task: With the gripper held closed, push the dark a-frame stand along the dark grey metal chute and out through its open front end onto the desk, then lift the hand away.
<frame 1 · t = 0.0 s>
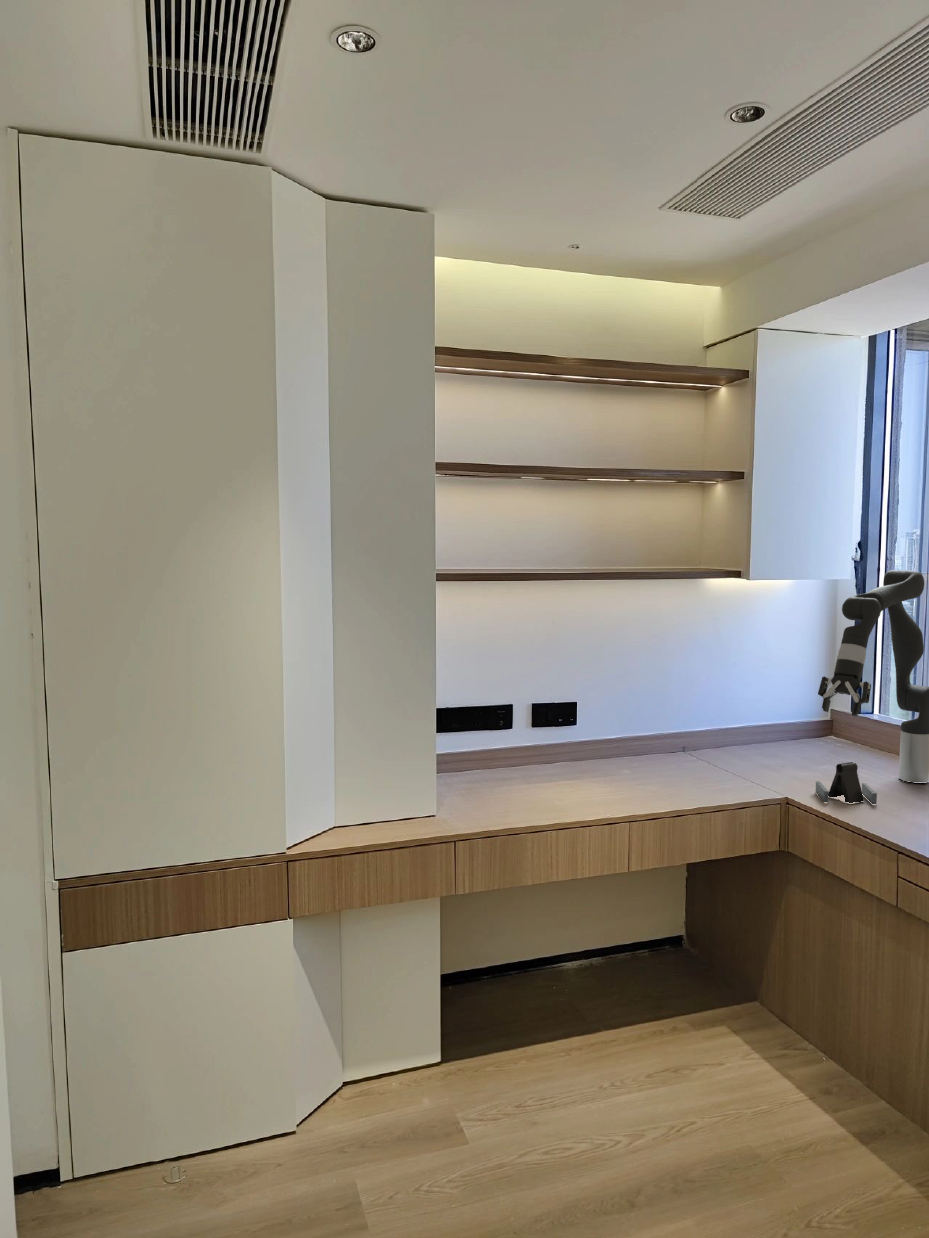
hand: (839, 713, 244), 31 cm above the table, tool tilted 20°, fingers open, 8 cm apart
chute: (845, 799, 263), on the table
dark a-frame stand: (845, 800, 263), on the table
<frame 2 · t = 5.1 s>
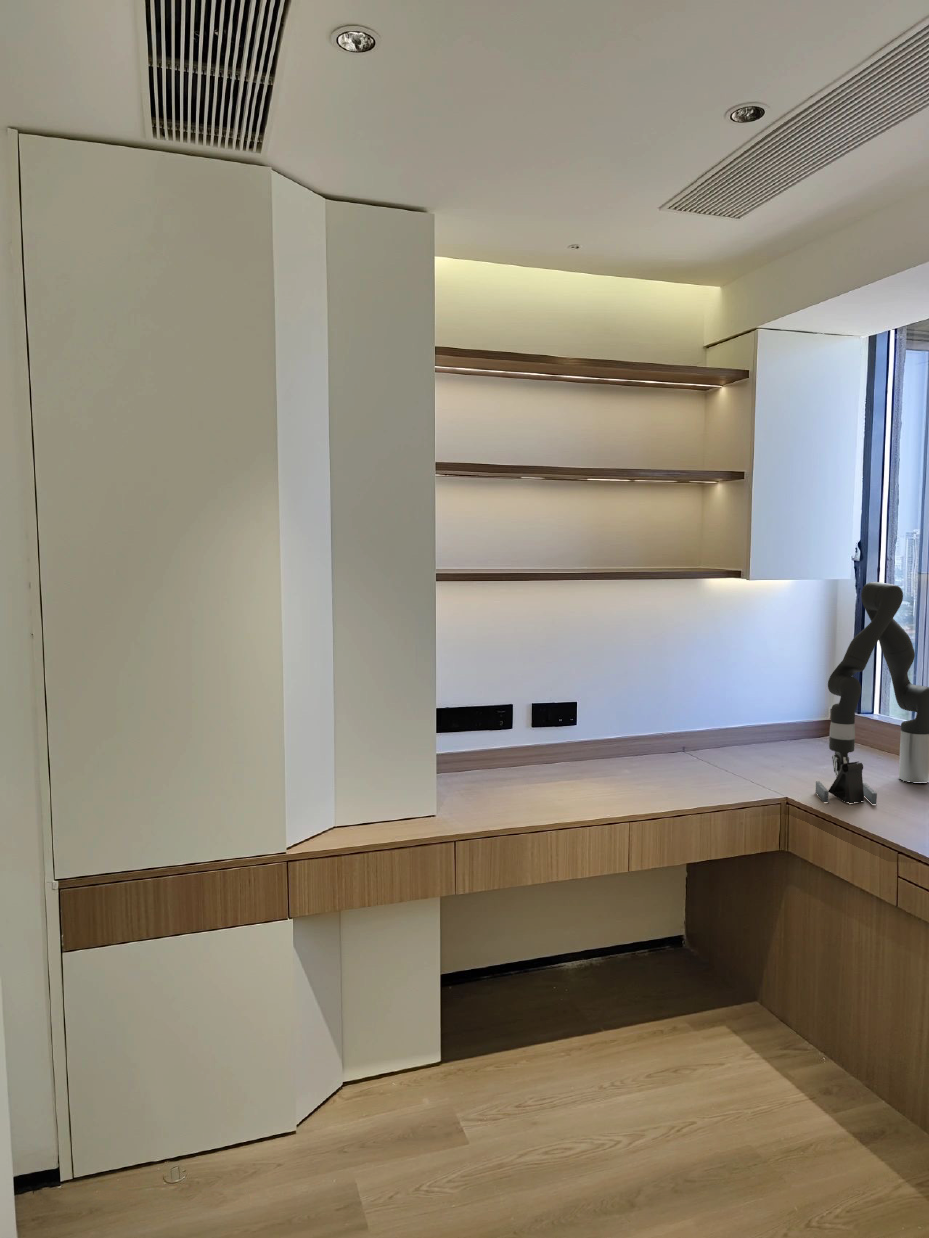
hand: (840, 787, 269), 2 cm above the table, tool pointing down, fingers closed
dark a-frame stand: (845, 797, 263), point 1 cm above the table, touching gripper, hand
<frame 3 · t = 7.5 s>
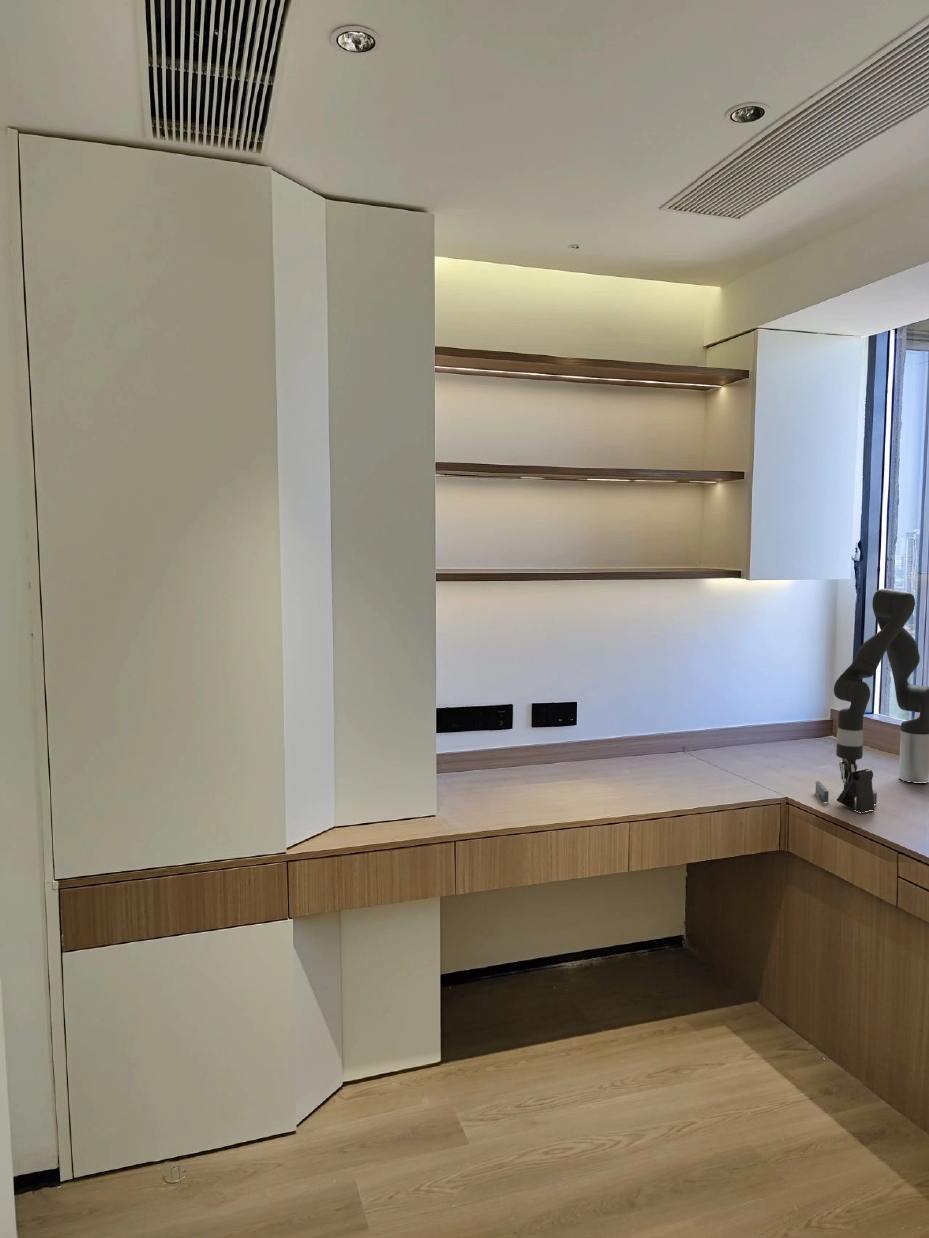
hand: (847, 795, 259), 2 cm above the table, tool pointing down, fingers closed
dark a-frame stand: (854, 806, 254), point 1 cm above the table, touching gripper, hand
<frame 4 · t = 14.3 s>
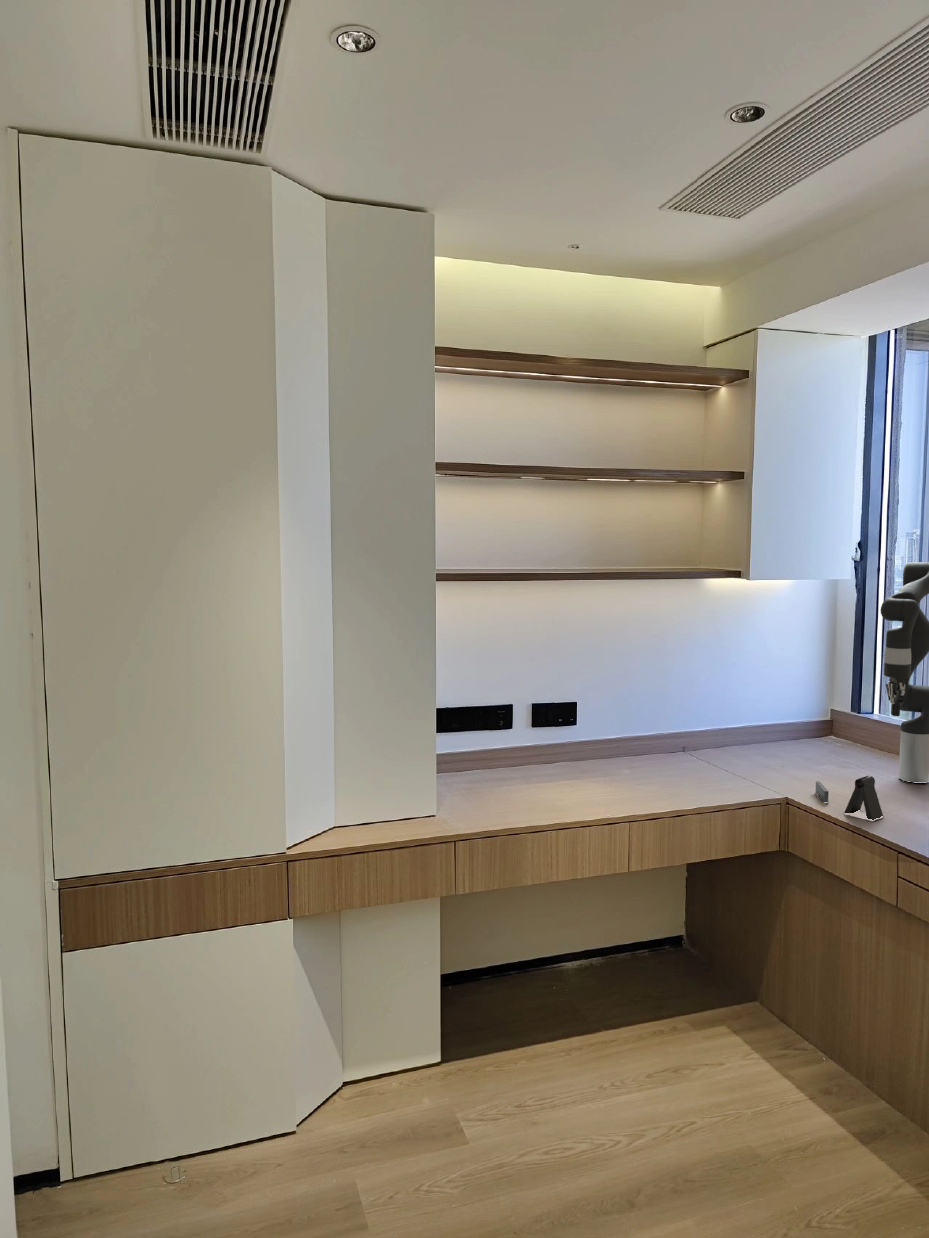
hand: (895, 715, 262), 27 cm above the table, tool pointing down, fingers closed
dark a-frame stand: (863, 817, 247), on the table
at the end: dark a-frame stand inside the target area (3.1 cm from its centre), on the table; dark a-frame stand tilted 0° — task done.
